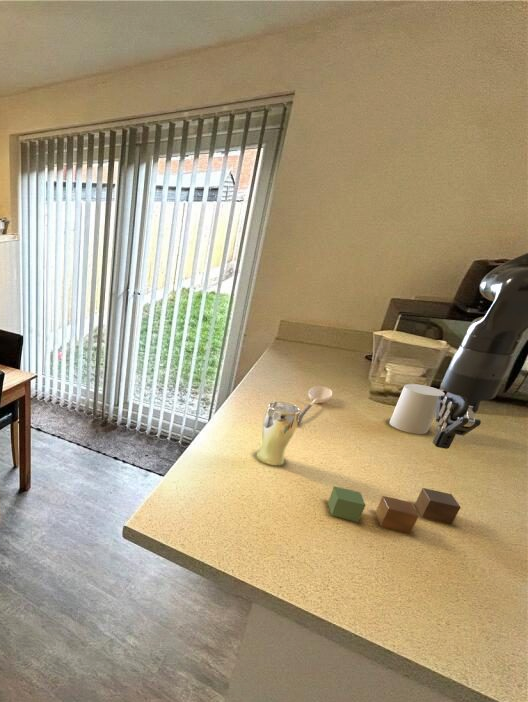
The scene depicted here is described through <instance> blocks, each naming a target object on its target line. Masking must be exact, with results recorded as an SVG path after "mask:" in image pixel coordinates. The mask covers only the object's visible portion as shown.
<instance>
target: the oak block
mask: <svg viewBox="0 0 528 702" xmlns="http://www.w3.org/2000/svg"><path fill="white" fill-rule="evenodd" d="M375 515H376V517H377V520H378V522H379V525H380V527H383V528H385V529H386V528H387V529H391V530H395V531H398V532H402V533H406V534H411V533H412V531H413V529H414V528H415V525H416V523H417V521H418V519H419V514H418V511H417V509H416V507H415V505H413V502H411V501H408V500H403V499H399V498H395V497H391V496H386V495H382V497H381V499H380V501H379V503H378V506H377V508H376V510H375Z"/></svg>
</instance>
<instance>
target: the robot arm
mask: <svg viewBox="0 0 528 702" xmlns="http://www.w3.org/2000/svg"><path fill="white" fill-rule="evenodd" d="M479 293H480V294H481V296H482V297H484V298H485V299H487V300H488V301H491V302H492V304H491V305H490V307H489V308H488V310H487V312H485V315H484V316H480V317H477V318H475V319H473V320H472V321H471V322H470V324H469V326H468V328H467V330H466V332H465V334H464V336H463V338H462V340H461V342H460V345H459V347H458V348H457V350H456V351H455V353H454V355H453V356H452V359H451V360H450V363H449V365H448V367H447V369H446V372H445V374H444V376H443V378H442V381H441V382H440V388H441V390H442V391H443V392H446V394H445V395H444V396H438V400H437V411H436V414H435V422H436V423H438V424H437V428H438V429H437V431H436V433H435V436H434V438H433V440H432V444H433V445H434V446H435V447H436V448H438V449H439V448H440V449H444V450H445V449H446V450H447V449H450V447H451V446H452V443H453V441H454V439H455V437H456V435H457V436H466V435H467V434H469V433H470V432H471V431H473V430H475V429H476V428H477V427H479V426H481V423H482V420H481V419H478V418H475V415H476V414H477V413H478V412H479V408H480V404H481V402H482V401H485V400H487V401H488V400H493V399H494V398H496V396H497V394H498V392H499V390H500V388H501V386H502V384H503V382H504V380H505V378H506V377H507V374H508V372H509V370H510V369H511V367H512V364H513V361H514V357H515V355H516V353H517V351H518V350H519V347H520V345H521V343H522V341H523V339H524V337H525V334H526V333H527V331H528V252H526V253H524V254H522V255H518V256H516V257H515V258H513V259H510V260H508V261H506V262H504V263H502V264H500V265H498V266H497V267H495V268H493V269H492V270H490V272H488V273H486V275H485V276H484V277H483V278H482V279H481V281H480V284H479Z"/></svg>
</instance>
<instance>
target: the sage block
mask: <svg viewBox="0 0 528 702" xmlns="http://www.w3.org/2000/svg"><path fill="white" fill-rule="evenodd" d="M327 504H328V508H329V511H330V516H332V517H335V518H340V519H345V520H348V521H352V522H356V523H359V521H360V519H361V517H362V514H363V513H364V510H365V507H366V503H365V501H364V497H363V496H362V493H361V492H360V491H356V490H352V489H347V488H344V487H340V486H334V485H333V488H332V490H331V493H330V496H329V498H328V501H327Z"/></svg>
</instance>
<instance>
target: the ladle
mask: <svg viewBox="0 0 528 702" xmlns="http://www.w3.org/2000/svg"><path fill="white" fill-rule="evenodd" d="M332 397H333V391H332V389H330V388H329V387H326V386H324V385H323V386H321V385H318V386H317V385H316V386H313V387H311V388H309V391H308V398H309V400H310V401H311V402H310V403H309V404H308V405H306V406H305V408H304V409H303V410H302V411H301V412H300V415H299V420H298V424H297V426H299V425H300V423H301V421H302V419H303V417H304V416H305V415H306V413H307V412H308V411H309V410H310V409H311V408H312V406H313V405H314V404H315V403H316V404H323V403H326V402H327V401H329V400H330V399H331V398H332Z"/></svg>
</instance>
